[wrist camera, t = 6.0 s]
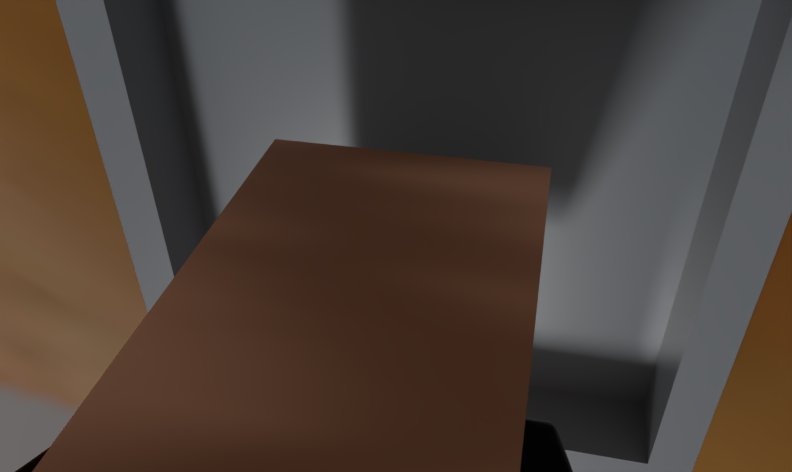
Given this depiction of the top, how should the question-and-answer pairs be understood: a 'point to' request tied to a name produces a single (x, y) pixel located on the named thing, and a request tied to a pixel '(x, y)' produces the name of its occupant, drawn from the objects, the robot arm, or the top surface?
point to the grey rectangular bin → (499, 142)
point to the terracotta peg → (335, 326)
